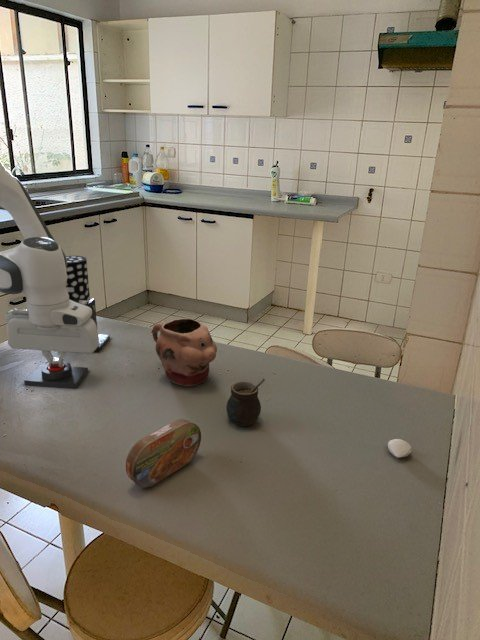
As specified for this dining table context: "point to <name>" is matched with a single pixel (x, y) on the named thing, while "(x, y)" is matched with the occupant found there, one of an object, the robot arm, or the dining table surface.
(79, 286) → the spotted tube
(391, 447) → the white pebble
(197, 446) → the tin
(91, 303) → the lever bracket
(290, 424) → the dining table surface
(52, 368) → the button
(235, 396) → the mate gourd
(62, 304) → the robot arm
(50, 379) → the button housing
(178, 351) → the character head mug
